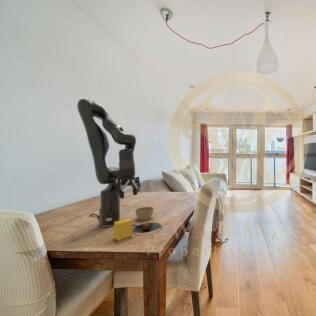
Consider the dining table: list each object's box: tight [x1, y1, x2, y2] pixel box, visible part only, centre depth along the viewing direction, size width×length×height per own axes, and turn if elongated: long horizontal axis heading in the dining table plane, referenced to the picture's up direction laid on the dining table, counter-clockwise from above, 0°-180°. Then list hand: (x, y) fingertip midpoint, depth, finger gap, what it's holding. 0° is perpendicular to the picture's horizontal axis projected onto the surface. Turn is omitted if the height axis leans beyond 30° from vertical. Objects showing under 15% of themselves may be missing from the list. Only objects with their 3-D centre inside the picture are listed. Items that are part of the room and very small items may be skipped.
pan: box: [132, 222, 162, 234], centre depth 99 cm, size 21×14×2 cm
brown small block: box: [142, 222, 151, 229], centre depth 97 cm, size 3×3×2 cm
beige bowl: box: [135, 206, 154, 221], centre depth 112 cm, size 10×10×7 cm
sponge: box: [113, 218, 133, 242], centre depth 86 cm, size 4×6×9 cm
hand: (128, 196), depth 101 cm, fingers open, 8 cm apart
